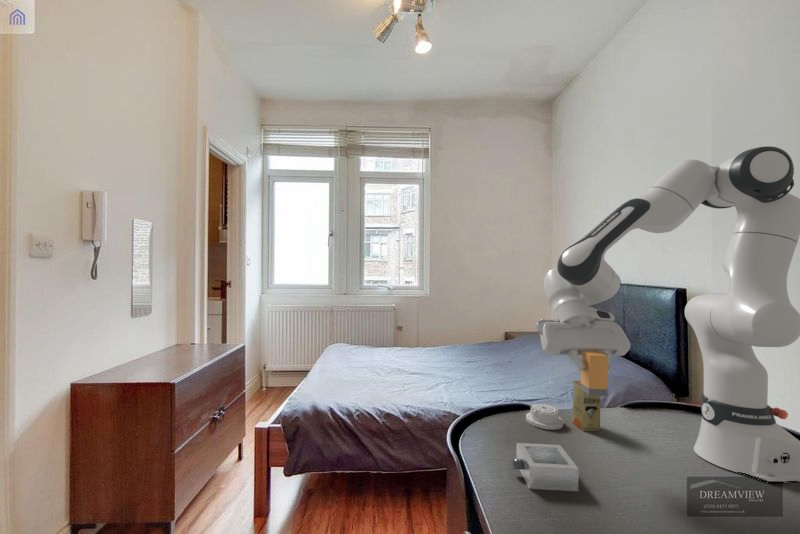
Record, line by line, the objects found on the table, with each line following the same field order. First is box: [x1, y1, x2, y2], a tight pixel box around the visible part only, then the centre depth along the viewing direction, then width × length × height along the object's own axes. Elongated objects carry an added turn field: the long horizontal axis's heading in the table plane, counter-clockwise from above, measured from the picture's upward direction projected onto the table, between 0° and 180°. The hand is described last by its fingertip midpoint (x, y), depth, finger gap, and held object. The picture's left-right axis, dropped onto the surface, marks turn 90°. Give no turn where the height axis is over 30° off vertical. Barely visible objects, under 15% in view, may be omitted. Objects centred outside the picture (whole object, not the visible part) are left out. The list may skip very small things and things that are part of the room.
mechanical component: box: [525, 403, 564, 431], centre depth 104 cm, size 10×4×10 cm
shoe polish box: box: [572, 380, 601, 432], centre depth 101 cm, size 5×5×12 cm
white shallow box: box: [511, 442, 580, 492], centre depth 77 cm, size 12×10×4 cm
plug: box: [580, 351, 609, 397], centre depth 83 cm, size 4×4×9 cm
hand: (595, 369), depth 82 cm, fingers closed on plug, 4 cm apart
